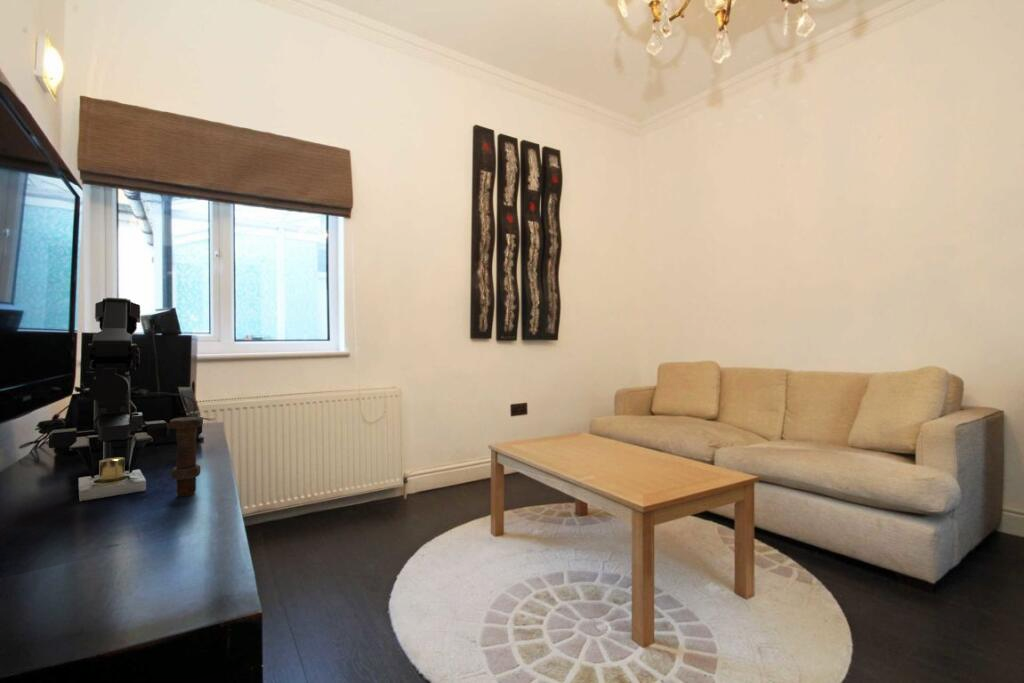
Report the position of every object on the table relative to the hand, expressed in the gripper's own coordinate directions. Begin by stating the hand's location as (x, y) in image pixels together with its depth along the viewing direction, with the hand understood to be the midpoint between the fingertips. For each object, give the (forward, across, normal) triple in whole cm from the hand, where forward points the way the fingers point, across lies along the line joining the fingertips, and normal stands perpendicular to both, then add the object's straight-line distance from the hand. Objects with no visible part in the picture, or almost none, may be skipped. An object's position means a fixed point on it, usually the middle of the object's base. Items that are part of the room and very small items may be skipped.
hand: (112, 475), depth 98 cm
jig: (+3, 0, 0) cm, 3 cm away
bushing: (+3, 0, 0) cm, 3 cm away
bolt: (+3, +10, -15) cm, 19 cm away
